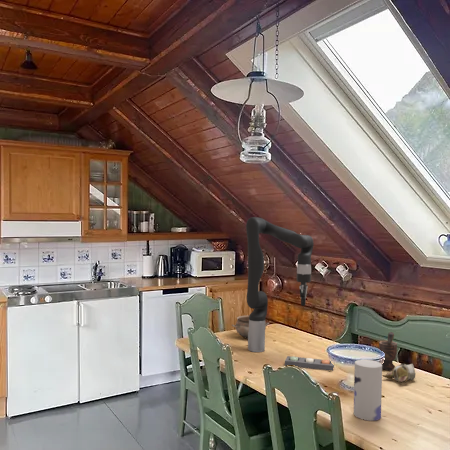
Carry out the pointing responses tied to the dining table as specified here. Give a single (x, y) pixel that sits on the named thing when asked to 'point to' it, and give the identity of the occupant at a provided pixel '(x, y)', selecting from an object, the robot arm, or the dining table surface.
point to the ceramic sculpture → (402, 373)
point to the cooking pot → (243, 326)
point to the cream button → (309, 360)
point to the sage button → (294, 358)
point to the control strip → (309, 364)
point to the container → (367, 389)
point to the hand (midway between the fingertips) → (303, 305)
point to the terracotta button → (325, 362)
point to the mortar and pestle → (388, 351)
